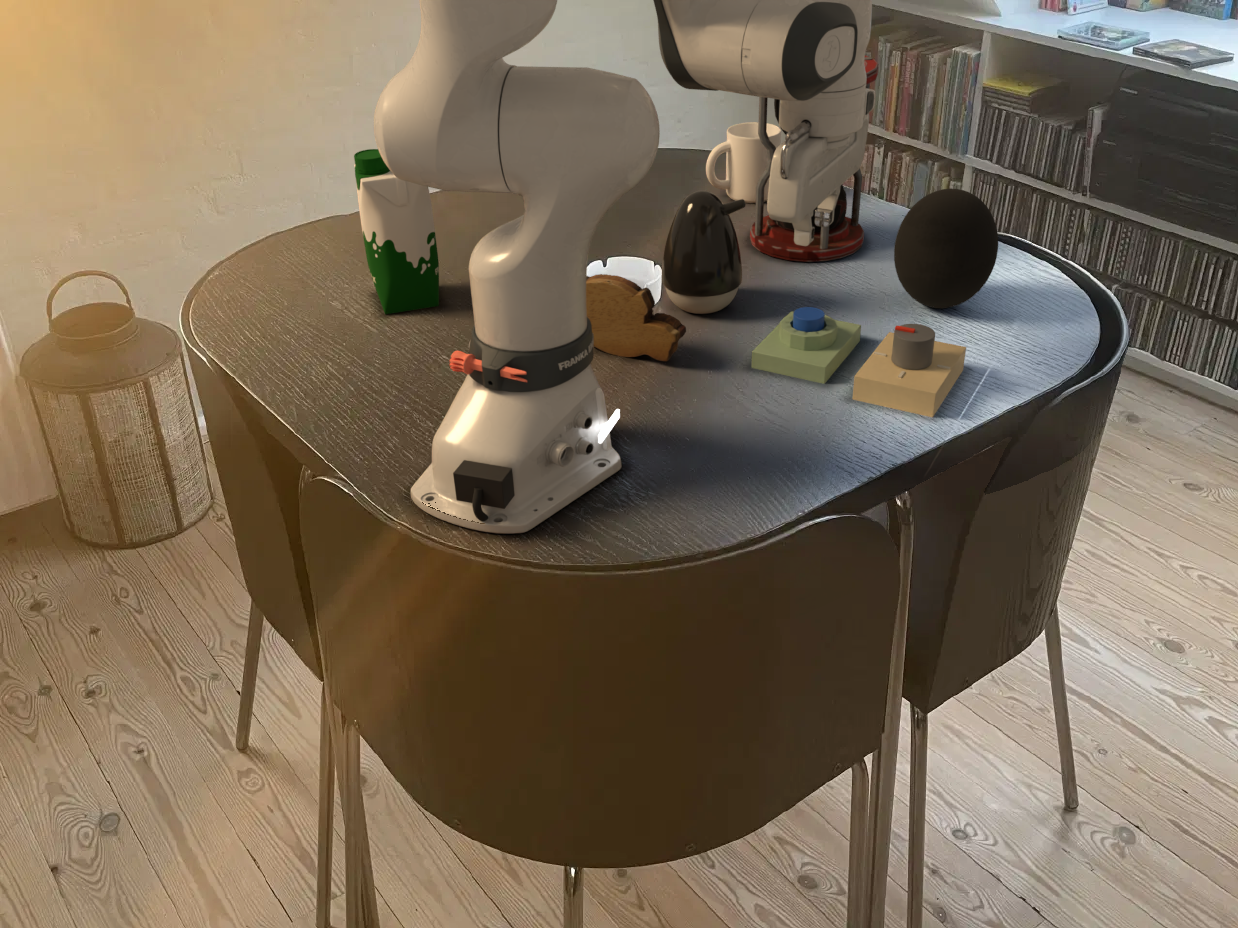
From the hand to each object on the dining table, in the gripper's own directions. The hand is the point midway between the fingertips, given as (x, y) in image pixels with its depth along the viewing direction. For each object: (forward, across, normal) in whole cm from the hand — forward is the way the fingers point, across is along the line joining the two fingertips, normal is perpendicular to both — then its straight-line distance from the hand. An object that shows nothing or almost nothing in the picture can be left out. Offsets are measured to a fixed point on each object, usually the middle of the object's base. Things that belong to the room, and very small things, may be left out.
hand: (813, 234), depth 131 cm
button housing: (+15, 0, 0) cm, 15 cm away
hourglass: (+15, +33, +13) cm, 39 cm away
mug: (+15, +46, +29) cm, 57 cm away
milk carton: (+15, -8, +53) cm, 56 cm away
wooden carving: (+15, -9, +20) cm, 27 cm away
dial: (+12, -2, -13) cm, 18 cm away
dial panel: (+15, -2, -13) cm, 20 cm away
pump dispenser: (+15, +7, +17) cm, 24 cm away
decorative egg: (+15, +20, -10) cm, 27 cm away
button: (+11, 0, 0) cm, 11 cm away
